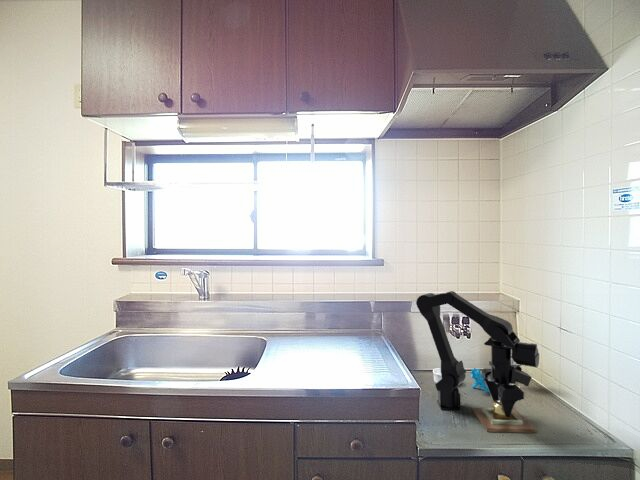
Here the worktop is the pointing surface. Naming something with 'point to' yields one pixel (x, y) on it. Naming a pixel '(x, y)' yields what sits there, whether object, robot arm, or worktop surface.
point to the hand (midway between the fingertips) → (501, 409)
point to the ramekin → (437, 375)
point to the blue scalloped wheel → (479, 380)
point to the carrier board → (503, 421)
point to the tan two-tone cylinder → (499, 411)
